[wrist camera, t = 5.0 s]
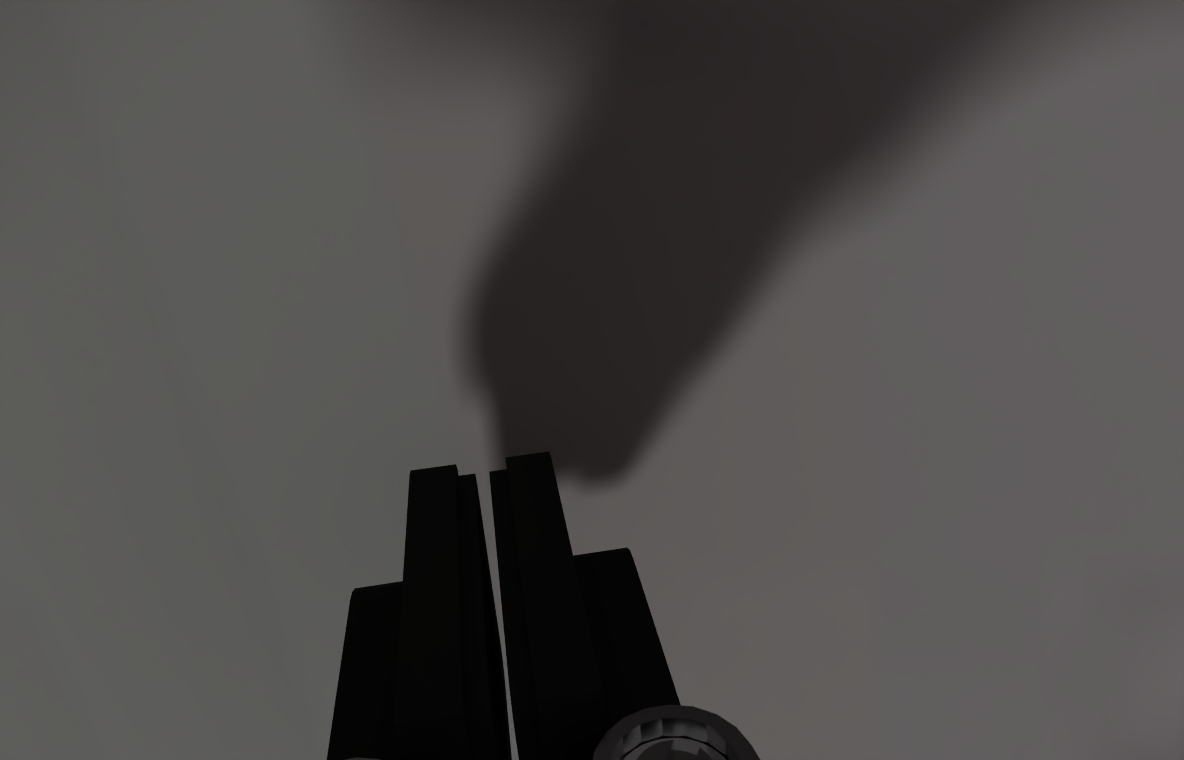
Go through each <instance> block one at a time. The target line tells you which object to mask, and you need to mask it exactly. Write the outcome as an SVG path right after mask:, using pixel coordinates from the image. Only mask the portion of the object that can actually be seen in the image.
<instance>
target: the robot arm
mask: <svg viewBox="0 0 1184 760" xmlns="http://www.w3.org/2000/svg"><path fill="white" fill-rule="evenodd" d="M506 465H507V469H505V470H498V471H491V472H489V473H490V484H491V495H492V506H493V517H494V527H495V538H496V549H497V559H498V570H499V581H500V592H501V602H502V613H503V624H504V635H505V645H506V656H507V667H508V677H509V687H510V696H511V705H512V713H513V721H514V728H515V735H516V742H517V749H518V756H519V760H760V758H759V757H758V755H757V753H756V752H755V750H754V748H753V747H752V745H751V744H750V743H749V741H748V740H747V739H746V738H745V737H744V736H743V734H742V733H741V732H740V731H739V730H738V728H737V727H735V726H734V725H732V724H731V723H729V722H728V721H726V720H725V719H723V718H722V717H720V716H719V715H717V714H715V713H712V712H709V711H706V710H703V709H699V708H696V707H693V706H681V705H680V702H679V699H678V696H677V693H676V689H675V686H674V683H673V680H672V677H671V674H670V671H669V668H668V665H667V662H666V659H665V656H664V652H663V649H662V646H661V643H660V640H659V637H658V634H657V631H656V628H655V625H654V622H653V618H652V615H651V612H650V609H649V606H648V603H647V600H646V597H645V594H644V591H643V588H642V585H641V581H640V578H639V575H638V572H637V569H636V566H635V563H634V560H633V557H632V554H631V552H630V550H629V549H628V548H621V549H615V550H608V551H601V552H595V553H588V554H581V555H575V556H573V554H572V549H571V545H570V540H569V536H568V531H567V527H566V522H565V518H564V513H563V509H562V504H561V500H560V495H559V491H558V486H557V482H556V477H555V473H554V468H553V464H552V459H551V455H550V452H543V453H535V454H528V455H521V456H513V457H506ZM327 760H512V757H511V746H510V734H509V723H508V712H507V700H506V689H505V677H504V668H503V659H502V651H501V644H500V637H499V630H498V623H497V617H496V610H495V603H494V596H493V589H492V583H491V576H490V569H489V562H488V555H487V549H486V542H485V535H484V528H483V521H482V515H481V508H480V501H479V494H478V487H477V481H476V475H475V474H469V475H462V476H459V475H458V470H457V466H456V464H455V465H448V466H440V467H433V468H426V469H418V470H411V471H410V478H409V494H408V509H407V525H406V540H405V555H404V571H403V581H401V582H395V583H388V584H381V585H375V586H368V587H361V588H355V589H354V590H353V592H352V595H351V599H350V605H349V612H348V619H347V626H346V632H345V639H344V646H343V653H342V660H341V667H340V673H339V680H338V687H337V694H336V701H335V707H334V714H333V721H332V728H331V735H330V742H329V748H328V755H327Z"/></svg>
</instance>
